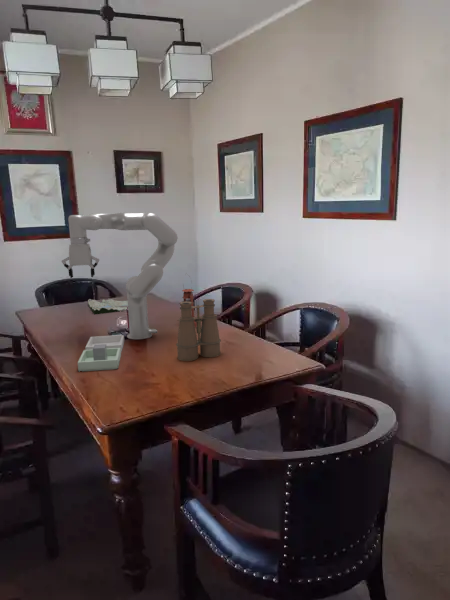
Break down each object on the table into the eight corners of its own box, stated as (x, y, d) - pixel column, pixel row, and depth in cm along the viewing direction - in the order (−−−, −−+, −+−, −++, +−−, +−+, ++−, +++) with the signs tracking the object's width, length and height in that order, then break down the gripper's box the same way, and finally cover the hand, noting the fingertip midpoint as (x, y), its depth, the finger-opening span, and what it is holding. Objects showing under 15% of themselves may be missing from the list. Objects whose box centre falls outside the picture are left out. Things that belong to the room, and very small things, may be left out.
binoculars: (180, 362, 191) (178, 306, 185) (173, 355, 200) (171, 301, 194) (224, 355, 199) (223, 301, 193) (216, 348, 208) (214, 296, 202)
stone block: (107, 359, 194) (106, 344, 192) (106, 363, 189) (104, 347, 187) (95, 360, 193) (94, 344, 192) (94, 364, 188) (92, 348, 187)
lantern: (177, 327, 244) (175, 273, 238) (185, 322, 254) (183, 271, 247) (193, 328, 241) (191, 274, 234) (201, 324, 250) (199, 271, 244)
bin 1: (124, 342, 219) (123, 334, 219) (121, 353, 204) (121, 344, 203) (91, 344, 217) (90, 336, 216) (86, 355, 202) (85, 347, 201)
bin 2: (121, 356, 200) (120, 347, 199) (117, 368, 185) (117, 359, 184) (84, 358, 198) (83, 350, 197) (78, 371, 182) (77, 362, 182)
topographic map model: (139, 300, 317) (139, 293, 316) (150, 309, 291) (149, 301, 289) (88, 306, 303) (87, 298, 302) (94, 315, 276) (93, 307, 275)
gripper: (98, 240, 214) (101, 275, 217) (61, 241, 211) (65, 276, 215) (96, 241, 206) (99, 277, 210) (58, 242, 204) (61, 279, 208)
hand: (82, 277), depth 213 cm, fingers open, 9 cm apart
